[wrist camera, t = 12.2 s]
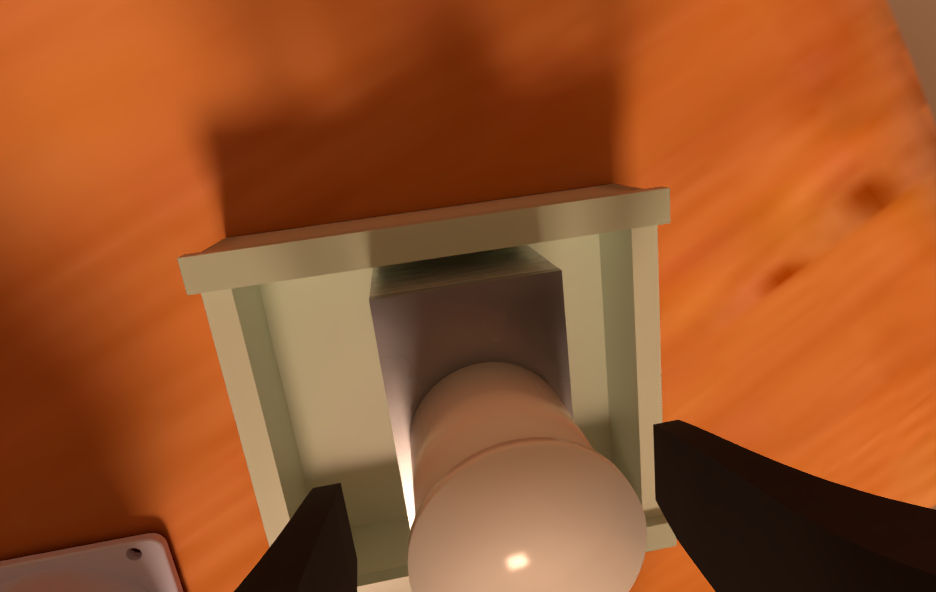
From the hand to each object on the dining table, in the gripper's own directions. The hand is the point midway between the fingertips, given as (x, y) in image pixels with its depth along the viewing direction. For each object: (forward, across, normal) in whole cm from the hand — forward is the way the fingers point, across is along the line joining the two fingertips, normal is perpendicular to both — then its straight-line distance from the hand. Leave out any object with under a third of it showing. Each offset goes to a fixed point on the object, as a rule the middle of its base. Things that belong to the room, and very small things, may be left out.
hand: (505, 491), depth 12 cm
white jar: (+2, 0, 0) cm, 2 cm away
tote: (+8, 0, 0) cm, 8 cm away
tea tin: (+7, 0, 0) cm, 7 cm away
